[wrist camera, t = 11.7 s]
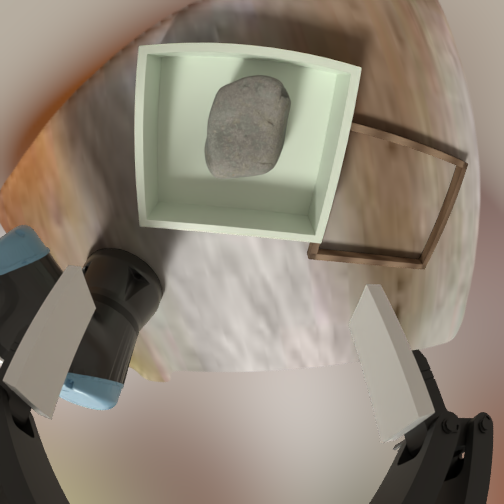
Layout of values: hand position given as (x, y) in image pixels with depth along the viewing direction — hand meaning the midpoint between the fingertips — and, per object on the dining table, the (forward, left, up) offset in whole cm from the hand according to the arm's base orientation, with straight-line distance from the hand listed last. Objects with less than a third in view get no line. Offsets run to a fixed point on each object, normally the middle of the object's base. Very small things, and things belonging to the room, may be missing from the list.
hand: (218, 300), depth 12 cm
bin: (0, +2, -25) cm, 25 cm away
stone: (+1, +4, -24) cm, 24 cm away
